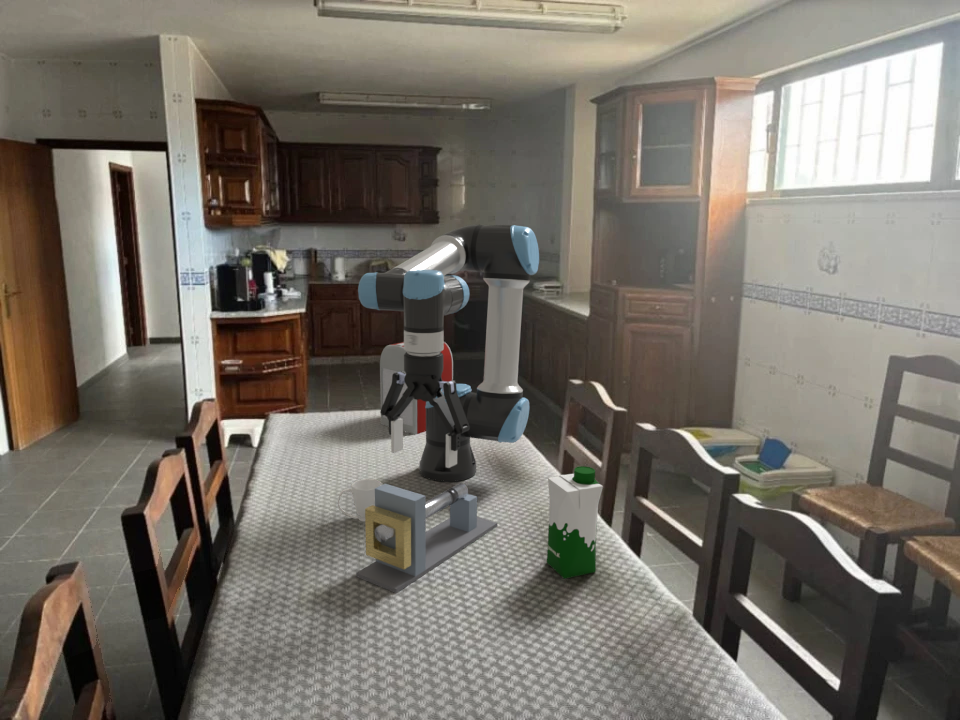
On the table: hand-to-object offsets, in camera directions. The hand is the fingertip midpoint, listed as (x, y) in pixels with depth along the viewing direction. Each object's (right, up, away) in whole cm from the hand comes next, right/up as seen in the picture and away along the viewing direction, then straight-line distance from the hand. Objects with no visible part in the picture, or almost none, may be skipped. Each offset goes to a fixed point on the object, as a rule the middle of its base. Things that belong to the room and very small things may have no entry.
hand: (423, 458), depth 139 cm
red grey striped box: (-9, -1, +90) cm, 91 cm away
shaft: (0, -12, +3) cm, 13 cm away
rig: (+1, -20, +6) cm, 21 cm away
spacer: (-6, -14, -6) cm, 16 cm away
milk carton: (+29, -22, 0) cm, 36 cm away
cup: (-16, -16, +20) cm, 31 cm away
